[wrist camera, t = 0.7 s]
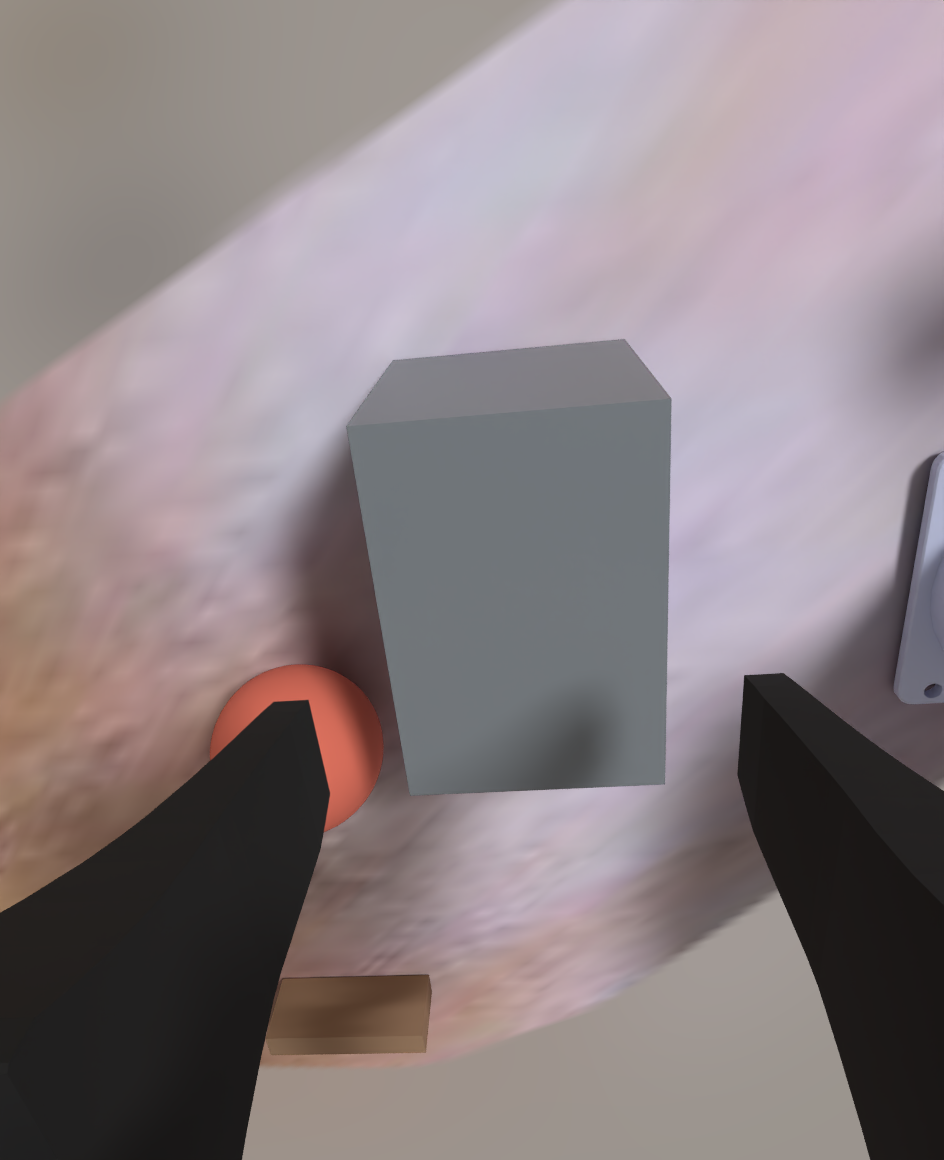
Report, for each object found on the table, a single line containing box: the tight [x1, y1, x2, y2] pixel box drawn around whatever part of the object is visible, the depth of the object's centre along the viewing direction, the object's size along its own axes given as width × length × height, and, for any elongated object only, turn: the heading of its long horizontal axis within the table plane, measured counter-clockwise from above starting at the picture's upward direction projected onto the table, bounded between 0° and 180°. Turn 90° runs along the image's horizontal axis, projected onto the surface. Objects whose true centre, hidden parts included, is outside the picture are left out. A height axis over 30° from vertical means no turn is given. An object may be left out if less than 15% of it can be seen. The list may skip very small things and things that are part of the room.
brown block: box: [265, 975, 432, 1055], centre depth 30 cm, size 6×1×2 cm, turn 96°
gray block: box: [346, 339, 671, 796], centre depth 19 cm, size 6×9×6 cm, turn 5°
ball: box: [210, 665, 384, 832], centre depth 23 cm, size 5×5×5 cm
